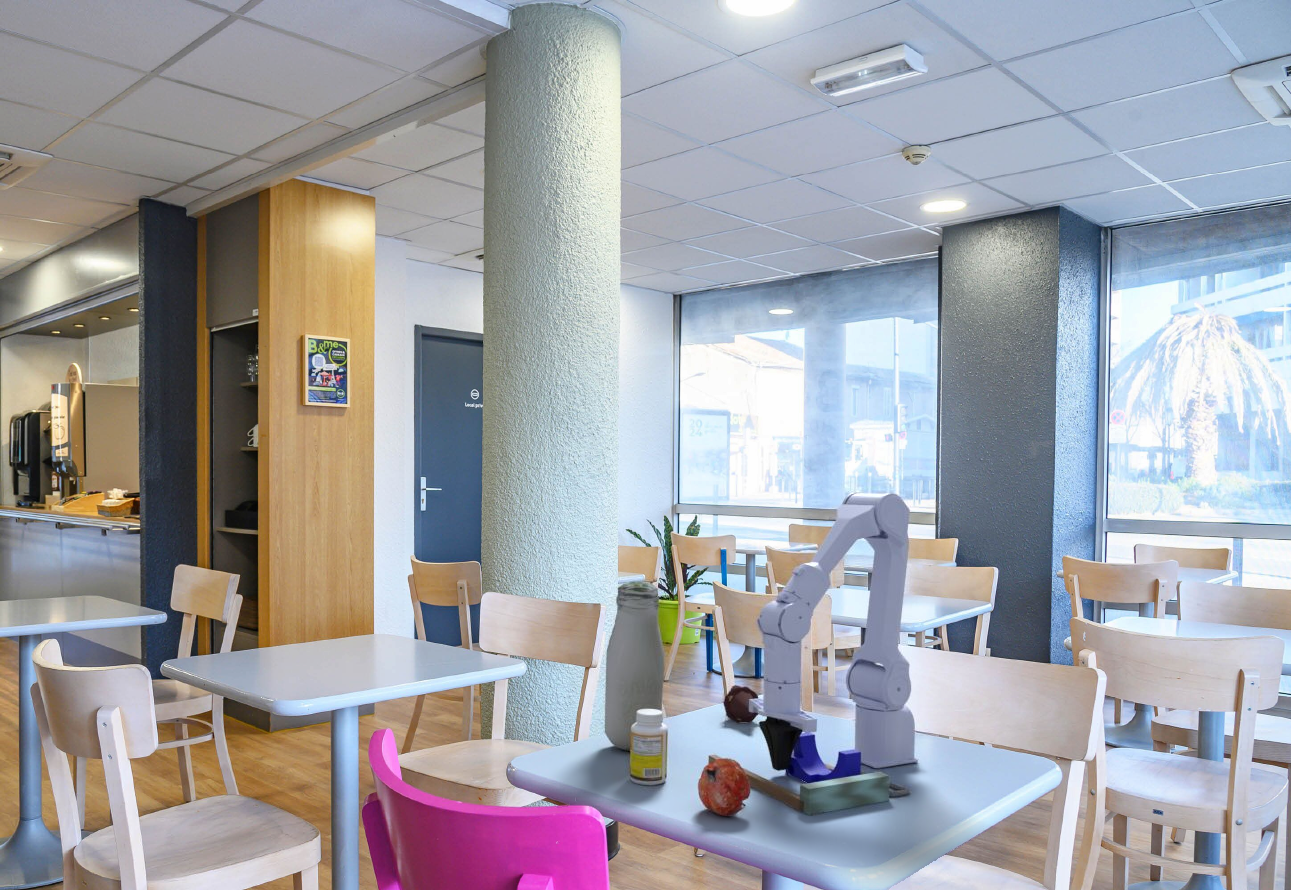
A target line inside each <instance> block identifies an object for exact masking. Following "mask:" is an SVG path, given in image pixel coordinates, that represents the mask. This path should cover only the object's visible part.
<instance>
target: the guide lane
mask: <svg viewBox="0 0 1291 890" xmlns="http://www.w3.org/2000/svg"><path fill="white" fill-rule="evenodd" d="M792 754H794V750H793V753H792ZM717 759H723V757H721V756H719V755H717V754H710V755H708V760H707V761H708V764H712V763H714V762H715V760H717ZM823 763H824V764H825V766H826V767H827V768H828V769H830V770H831V771H833V769H834V768H835V766H832V765H830V764H828V763H826V762H823ZM708 764H707V765H708ZM742 768H743V767H742ZM743 770H744V771H745V773H746V775H747V776H748V779H749V783H750V787H751V786H752V787H751V788H753V789H755V788H756V789H755V790H757V789H758V791H759V790H760V792H761V793H763V792H764V793H763V794H765V793H766V794H765V795H767V794H768V795H767V796H769V795H770V797H771V796H772V798H773V797H774V799H775V798H776V800H777V801H779V800H780V802H781V801H782V802H781V803H783V802H784V803H783V804H785V805H787V804H788V805H787V806H789V807H791V806H792V807H791V808H794V809H795V808H796V809H795V810H797V809H798V810H797V811H799V810H800V812H801V813H803V812H804V813H803V814H805V813H806V815H808V816H812V815H817V814H818V813H819V814H824V813H831V812H834V811H838V810H839V811H841V810H847V809H850V808H856V807H861V806H866V805H867V806H868V805H871V804H872V805H873V804H877V803H883V802H887V801H888V802H889V801H890V796H889V790H890V787H889V781H890V775H888V774H886V773H884V772H881V771H875V772H871V773H870V772H868V773H869V774H863V775H857V776H851V777H845V778H838V779H832V780H826V781H820V782H814V783H803V784H802V783H801V784H799V794H798V793H797V792H794V791H792V790H790V789H788V788H786V787H784V786H782V785H780V784H778V783H775V782H773V781H772V780H769V779H767V778H765V777H763V776H761V775H759V774H757V773H754V772H753V771H750V770H749V769H747V768H743ZM823 812H824V813H823ZM811 814H812V815H811Z"/></svg>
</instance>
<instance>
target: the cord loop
mask: <svg viewBox="0 0 1291 890" xmlns="http://www.w3.org/2000/svg"><path fill="white" fill-rule="evenodd" d="M869 773H870V772H867V771H865V770H862V769H861V775H863V774H869ZM889 788H891V789H894V790H895V791H892V790H890V789H889V797H892V798H894V797H900V796H905V795H907V796H908V795H909V794H911V790H910V789H909V788H907V787H905V786H902V785H900V784H897V783H894V782H892V781H890V780H889Z"/></svg>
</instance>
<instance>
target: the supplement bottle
mask: <svg viewBox="0 0 1291 890" xmlns="http://www.w3.org/2000/svg"><path fill="white" fill-rule="evenodd" d="M663 715H664V714H663V710H662V711H660V710H656V709H641V710H638V711H637V715H636V719H637V720H636V723H634V724H633V725H632V726H631V751H630V750H629V751H630V753H629V754H630V757H629V758H630V759H629V762H630V764H629V778H630V780H631V781H632V782H633V783H635V784H637V785H642V786H656V785H661V784H663V783H665V782H666V780H667V776H668V775H667V774H668V739H669V738H668V737H669V736H668V735H669V734H668V733H669V731H668V726H667V725H666V724H665V723H663V720H664V718H663Z"/></svg>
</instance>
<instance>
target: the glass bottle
mask: <svg viewBox="0 0 1291 890" xmlns="http://www.w3.org/2000/svg"><path fill="white" fill-rule="evenodd" d="M615 599H616V601H615V603H616V606H617V610H616V615H615V619H614V625H613V628H612V630H611V633H610V634H611V635H610V636H609V640H608V644H607V649H606V659H605V662H606V663H605V695H604V697H605V698H604V699H605V700H604V733H605V735H606V737H607V739H608V741H609V742H610V743H611V744H612V745H613V746H614V747H616V748H617V749H621V750H623V751H631V726H632V725H633V724H634V723H636V720H637V719H636V715H637V711H638V710H641V709H656V710H660V711H662V712H663V693H664V692H663V691H664V690H663V689H664V676H665V659H666V658H665V650H664V644H663V640H662V635H661V628H660V626H659V618H658V617H659V614H658V611H659V604H660V602H659V601H660V597H659V588H657V587H656V585H655V584H653V583H651V582H650V581H638V580H637V581H636V580H634V581H628V582H624V583H622V584H621V585H620V586H618V587H617V595H616V598H615Z"/></svg>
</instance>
